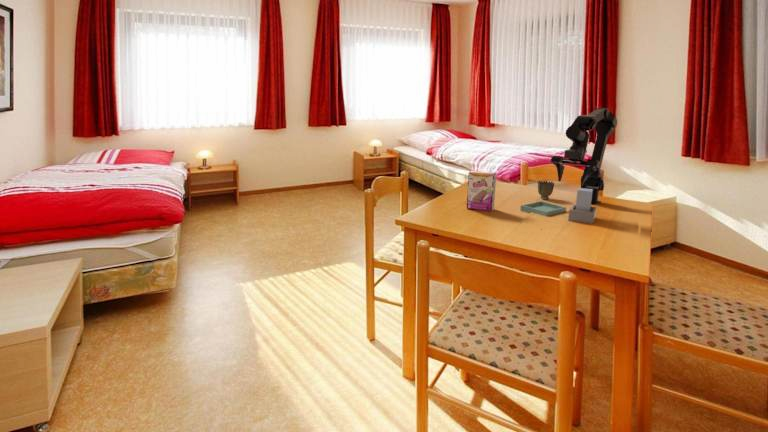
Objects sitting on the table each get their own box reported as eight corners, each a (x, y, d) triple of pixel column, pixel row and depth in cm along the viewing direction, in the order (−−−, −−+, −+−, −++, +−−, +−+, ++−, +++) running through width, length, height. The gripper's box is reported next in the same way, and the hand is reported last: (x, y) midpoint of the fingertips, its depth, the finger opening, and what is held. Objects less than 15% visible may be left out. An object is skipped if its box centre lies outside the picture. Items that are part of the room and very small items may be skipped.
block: (575, 216, 188) (579, 187, 185) (589, 218, 186) (592, 189, 182) (574, 219, 184) (577, 190, 181) (587, 221, 182) (591, 191, 178)
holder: (571, 216, 191) (572, 204, 190) (594, 219, 187) (596, 207, 185) (568, 222, 183) (569, 209, 182) (592, 225, 179) (594, 212, 178)
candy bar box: (466, 209, 203) (467, 172, 198) (469, 206, 207) (470, 170, 203) (491, 212, 198) (494, 174, 194) (494, 209, 203) (496, 172, 198)
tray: (540, 206, 207) (540, 201, 206) (565, 212, 196) (566, 207, 196) (520, 210, 200) (520, 205, 199) (545, 217, 190) (546, 212, 189)
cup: (553, 201, 215) (555, 184, 213) (537, 200, 217) (538, 183, 215) (551, 197, 222) (553, 180, 220) (535, 196, 224) (536, 180, 222)
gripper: (550, 138, 191) (541, 175, 191) (597, 142, 178) (587, 181, 178) (559, 146, 199) (551, 181, 199) (605, 149, 187) (596, 187, 187)
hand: (570, 182), depth 191 cm, fingers open, 9 cm apart
